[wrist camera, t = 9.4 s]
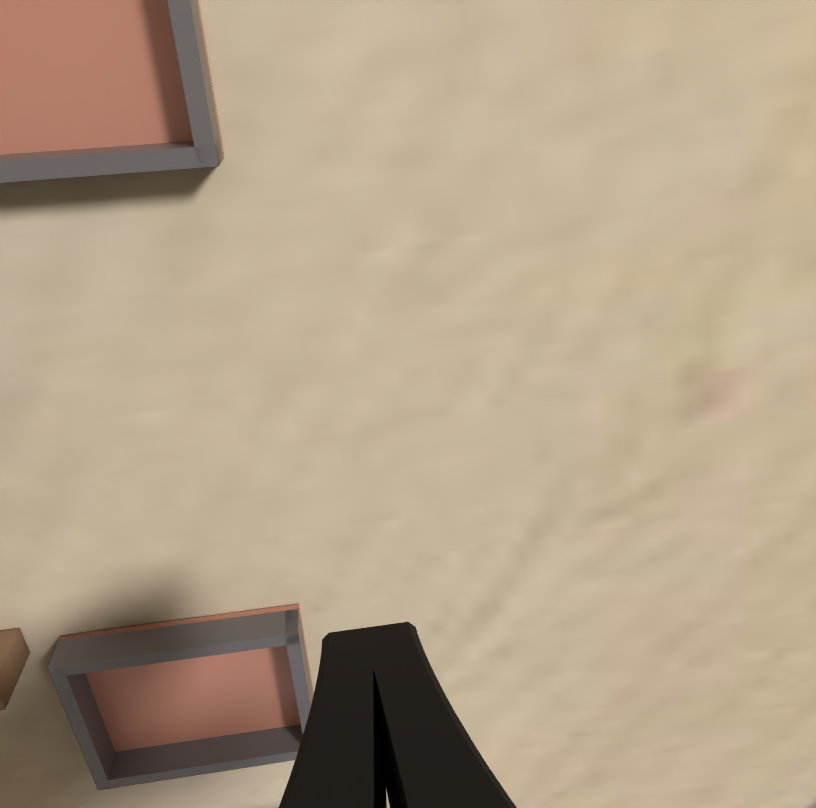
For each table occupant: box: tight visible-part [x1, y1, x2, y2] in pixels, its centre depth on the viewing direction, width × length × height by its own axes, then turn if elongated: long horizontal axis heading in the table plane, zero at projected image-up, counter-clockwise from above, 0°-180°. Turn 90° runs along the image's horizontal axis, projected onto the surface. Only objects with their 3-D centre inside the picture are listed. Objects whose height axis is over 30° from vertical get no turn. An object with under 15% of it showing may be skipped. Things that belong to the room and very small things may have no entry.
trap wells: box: [0, 0, 314, 790], centre depth 18 cm, size 24×7×1 cm, turn 3°
